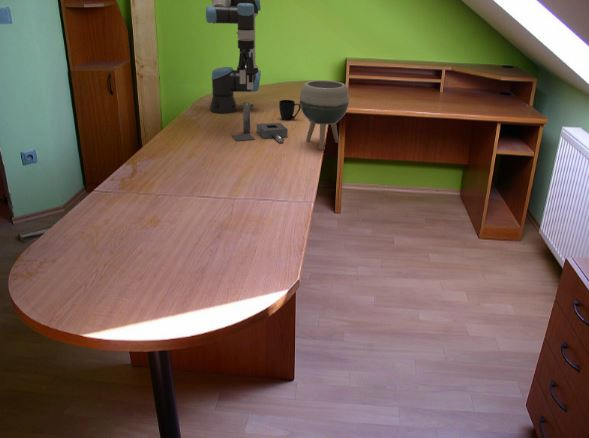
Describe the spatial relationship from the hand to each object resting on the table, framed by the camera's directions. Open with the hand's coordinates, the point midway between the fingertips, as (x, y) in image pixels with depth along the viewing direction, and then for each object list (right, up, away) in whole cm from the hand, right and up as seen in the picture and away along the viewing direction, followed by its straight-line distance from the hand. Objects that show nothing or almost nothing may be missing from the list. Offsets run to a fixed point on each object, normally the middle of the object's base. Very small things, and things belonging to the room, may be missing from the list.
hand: (246, 86), depth 257 cm
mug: (+20, -9, +35) cm, 42 cm away
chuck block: (+13, -23, +4) cm, 27 cm away
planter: (+36, -28, -4) cm, 46 cm away
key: (-1, -20, +10) cm, 23 cm away
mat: (-2, -24, +2) cm, 24 cm away
